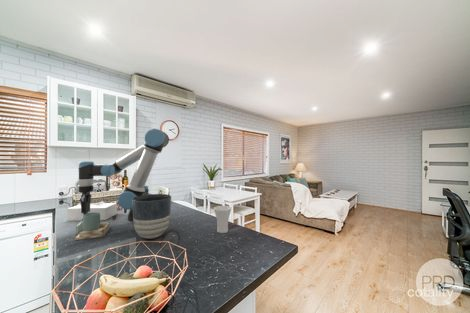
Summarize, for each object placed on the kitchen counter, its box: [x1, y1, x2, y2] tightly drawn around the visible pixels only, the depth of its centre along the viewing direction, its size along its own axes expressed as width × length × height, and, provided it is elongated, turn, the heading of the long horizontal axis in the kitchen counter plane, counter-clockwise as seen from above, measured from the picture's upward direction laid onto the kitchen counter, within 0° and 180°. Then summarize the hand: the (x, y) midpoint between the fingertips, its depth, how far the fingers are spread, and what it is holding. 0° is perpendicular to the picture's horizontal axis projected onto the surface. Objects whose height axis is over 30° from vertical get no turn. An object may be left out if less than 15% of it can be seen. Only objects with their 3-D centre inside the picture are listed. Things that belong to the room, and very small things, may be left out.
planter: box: [132, 193, 172, 240], centre depth 105 cm, size 20×20×21 cm
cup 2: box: [213, 205, 232, 234], centre depth 113 cm, size 10×10×14 cm
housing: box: [74, 221, 111, 241], centre depth 109 cm, size 13×14×4 cm
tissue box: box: [67, 200, 118, 222], centre depth 140 cm, size 14×25×11 cm, turn 94°
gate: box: [75, 218, 83, 235], centre depth 113 cm, size 1×12×6 cm, turn 23°
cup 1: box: [83, 212, 101, 232], centre depth 109 cm, size 8×8×10 cm
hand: (85, 222), depth 122 cm, fingers closed
